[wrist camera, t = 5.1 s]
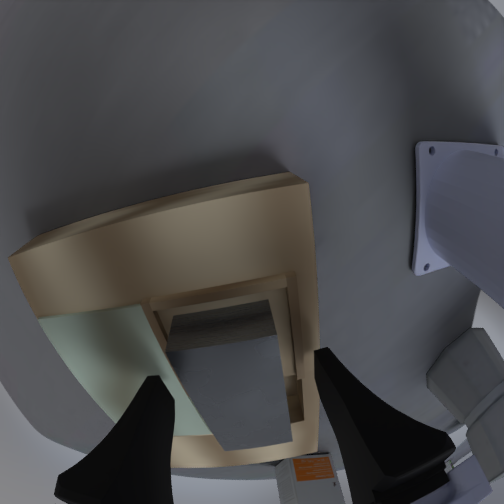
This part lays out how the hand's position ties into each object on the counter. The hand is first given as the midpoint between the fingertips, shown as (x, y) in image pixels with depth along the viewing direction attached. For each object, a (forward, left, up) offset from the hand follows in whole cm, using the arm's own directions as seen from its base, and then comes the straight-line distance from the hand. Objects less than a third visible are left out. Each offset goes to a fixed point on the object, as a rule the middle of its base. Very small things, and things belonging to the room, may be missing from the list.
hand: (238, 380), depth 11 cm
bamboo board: (+3, +3, -4) cm, 6 cm away
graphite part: (0, +1, -1) cm, 2 cm away
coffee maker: (-21, +11, -4) cm, 24 cm away
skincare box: (-3, +24, -4) cm, 25 cm away
